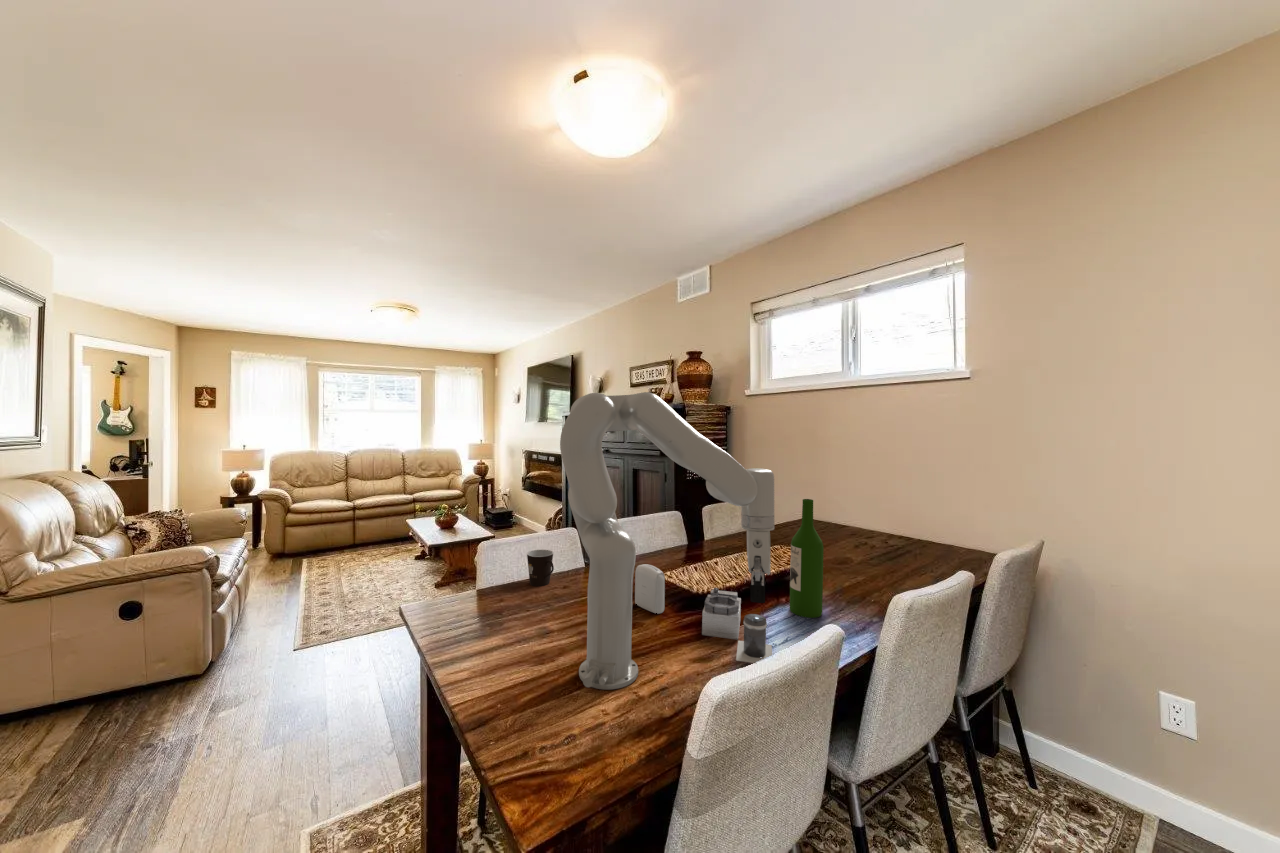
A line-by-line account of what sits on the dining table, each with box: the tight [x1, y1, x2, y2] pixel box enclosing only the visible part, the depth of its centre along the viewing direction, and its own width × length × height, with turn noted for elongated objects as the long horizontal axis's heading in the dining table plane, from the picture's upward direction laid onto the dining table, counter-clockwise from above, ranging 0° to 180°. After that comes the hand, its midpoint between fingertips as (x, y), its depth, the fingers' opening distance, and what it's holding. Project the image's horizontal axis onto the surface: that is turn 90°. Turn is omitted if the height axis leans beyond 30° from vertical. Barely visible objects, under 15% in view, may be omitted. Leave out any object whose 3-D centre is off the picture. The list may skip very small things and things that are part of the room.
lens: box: [742, 613, 768, 658], centre depth 108 cm, size 5×5×8 cm
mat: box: [735, 639, 773, 664], centre depth 108 cm, size 10×8×1 cm
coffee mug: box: [526, 549, 554, 587], centre depth 152 cm, size 12×9×10 cm
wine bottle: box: [789, 498, 825, 619], centre depth 134 cm, size 9×9×32 cm
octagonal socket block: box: [701, 587, 742, 641], centre depth 122 cm, size 13×9×8 cm
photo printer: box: [634, 563, 666, 615], centre depth 134 cm, size 10×4×12 cm, turn 39°
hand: (757, 594), depth 108 cm, fingers open, 9 cm apart
